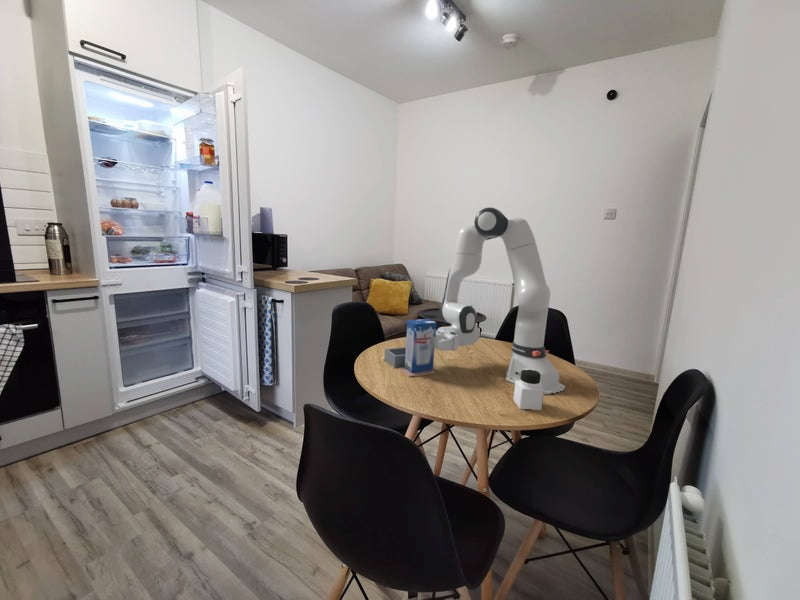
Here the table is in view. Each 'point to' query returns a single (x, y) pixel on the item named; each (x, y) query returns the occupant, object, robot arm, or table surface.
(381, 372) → the table surface
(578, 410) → the table surface
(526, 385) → the medicine bottle
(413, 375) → the terracotta tile
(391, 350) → the carton holder
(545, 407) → the table surface
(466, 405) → the table surface
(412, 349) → the milk carton
